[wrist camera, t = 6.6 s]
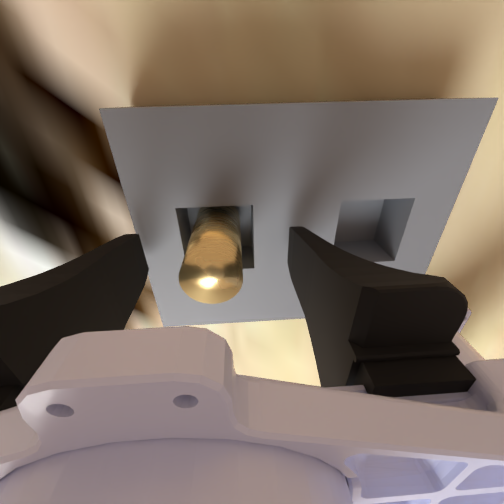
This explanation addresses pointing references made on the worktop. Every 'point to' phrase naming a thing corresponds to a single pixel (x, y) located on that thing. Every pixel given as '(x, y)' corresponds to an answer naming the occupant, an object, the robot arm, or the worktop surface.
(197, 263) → the brass pin
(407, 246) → the bore block
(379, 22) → the worktop surface
